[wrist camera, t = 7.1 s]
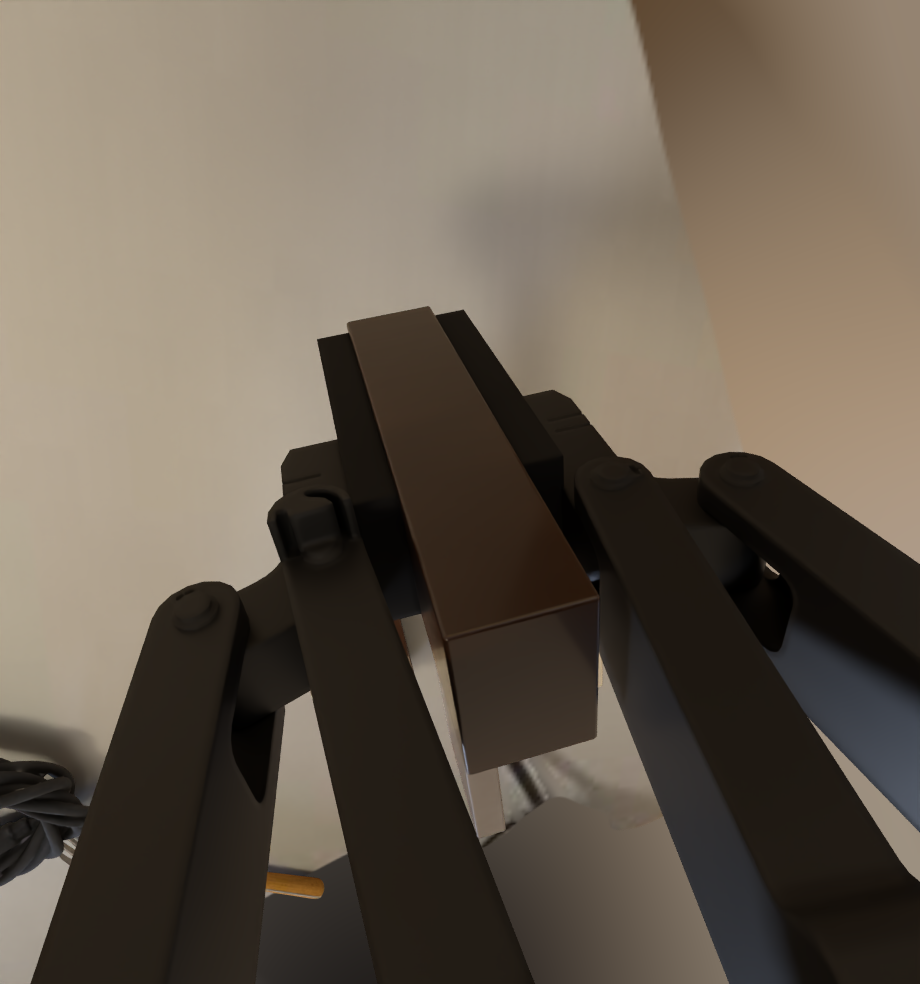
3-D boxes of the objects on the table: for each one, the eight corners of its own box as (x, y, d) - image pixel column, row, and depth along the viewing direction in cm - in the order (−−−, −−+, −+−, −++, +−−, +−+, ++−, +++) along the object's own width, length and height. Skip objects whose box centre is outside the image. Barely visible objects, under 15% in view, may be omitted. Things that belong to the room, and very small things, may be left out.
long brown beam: (429, 304, 16) (602, 596, 8) (487, 727, 26) (590, 1037, 19) (346, 321, 16) (442, 639, 8) (437, 742, 26) (519, 1062, 18)
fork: (333, 892, 52) (58, 860, 41) (320, 911, 52) (42, 883, 41) (325, 864, 54) (61, 826, 43) (312, 882, 54) (46, 848, 43)
